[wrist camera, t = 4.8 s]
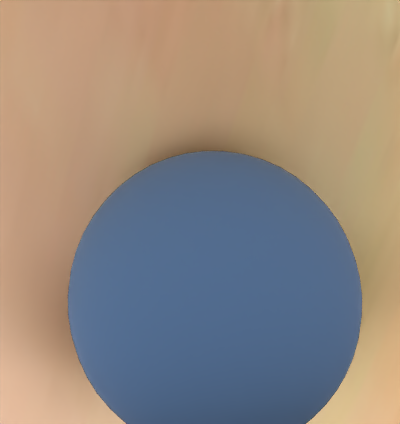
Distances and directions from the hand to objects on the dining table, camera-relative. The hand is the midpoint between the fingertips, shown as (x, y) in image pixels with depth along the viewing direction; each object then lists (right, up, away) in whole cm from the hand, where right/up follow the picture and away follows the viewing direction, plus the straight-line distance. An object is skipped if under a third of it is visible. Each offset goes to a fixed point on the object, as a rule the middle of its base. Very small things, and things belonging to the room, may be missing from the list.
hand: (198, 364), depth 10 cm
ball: (0, +3, -3) cm, 5 cm away
